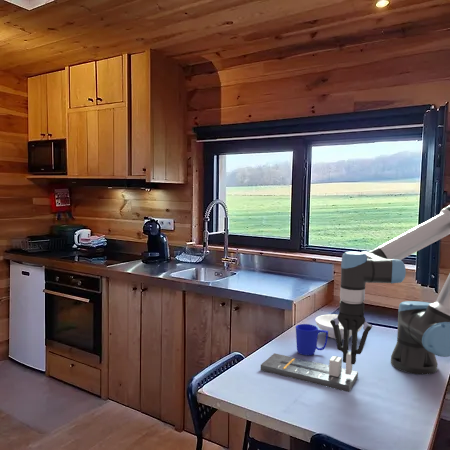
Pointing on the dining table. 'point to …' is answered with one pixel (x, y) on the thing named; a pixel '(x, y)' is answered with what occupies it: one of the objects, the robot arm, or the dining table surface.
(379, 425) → the dining table surface
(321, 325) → the bowl
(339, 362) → the block
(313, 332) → the mug
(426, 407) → the dining table surface
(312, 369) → the console
